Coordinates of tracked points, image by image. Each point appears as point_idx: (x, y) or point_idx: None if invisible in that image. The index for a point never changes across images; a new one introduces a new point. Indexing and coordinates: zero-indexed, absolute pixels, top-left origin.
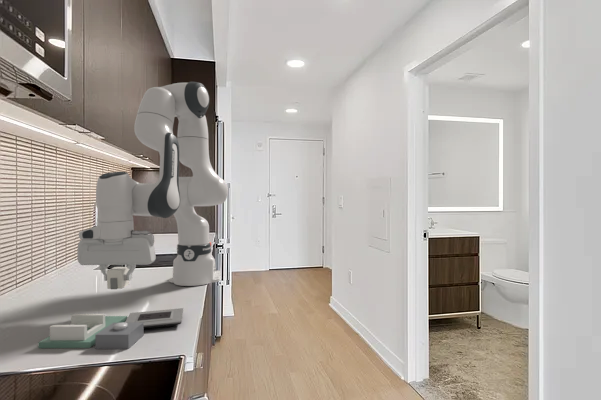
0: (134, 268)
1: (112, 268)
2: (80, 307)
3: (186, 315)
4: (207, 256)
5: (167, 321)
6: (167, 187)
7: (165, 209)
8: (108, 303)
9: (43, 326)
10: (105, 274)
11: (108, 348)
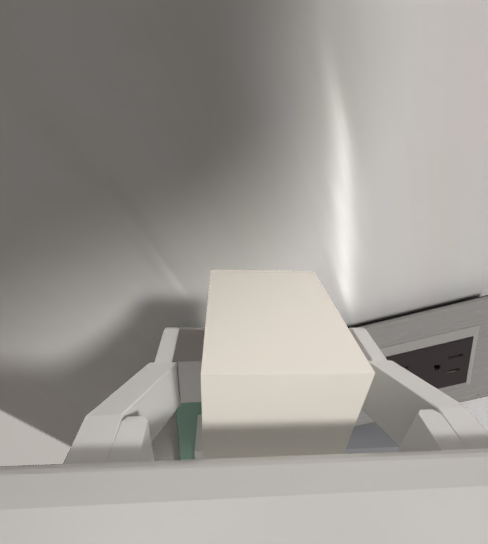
0: (441, 403)
1: (215, 423)
2: (8, 180)
3: None
4: None
5: (455, 396)
6: None
7: None
8: (114, 110)
9: (70, 375)
10: (173, 406)
11: None
